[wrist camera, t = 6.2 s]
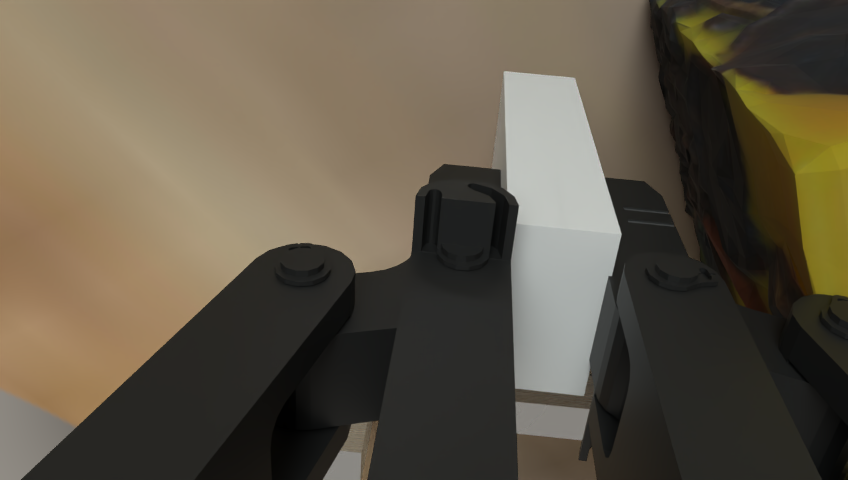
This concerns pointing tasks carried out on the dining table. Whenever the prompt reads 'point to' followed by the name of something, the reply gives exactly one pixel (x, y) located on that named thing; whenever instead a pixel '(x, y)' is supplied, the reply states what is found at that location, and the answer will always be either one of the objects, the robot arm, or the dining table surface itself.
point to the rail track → (532, 418)
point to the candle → (761, 140)
